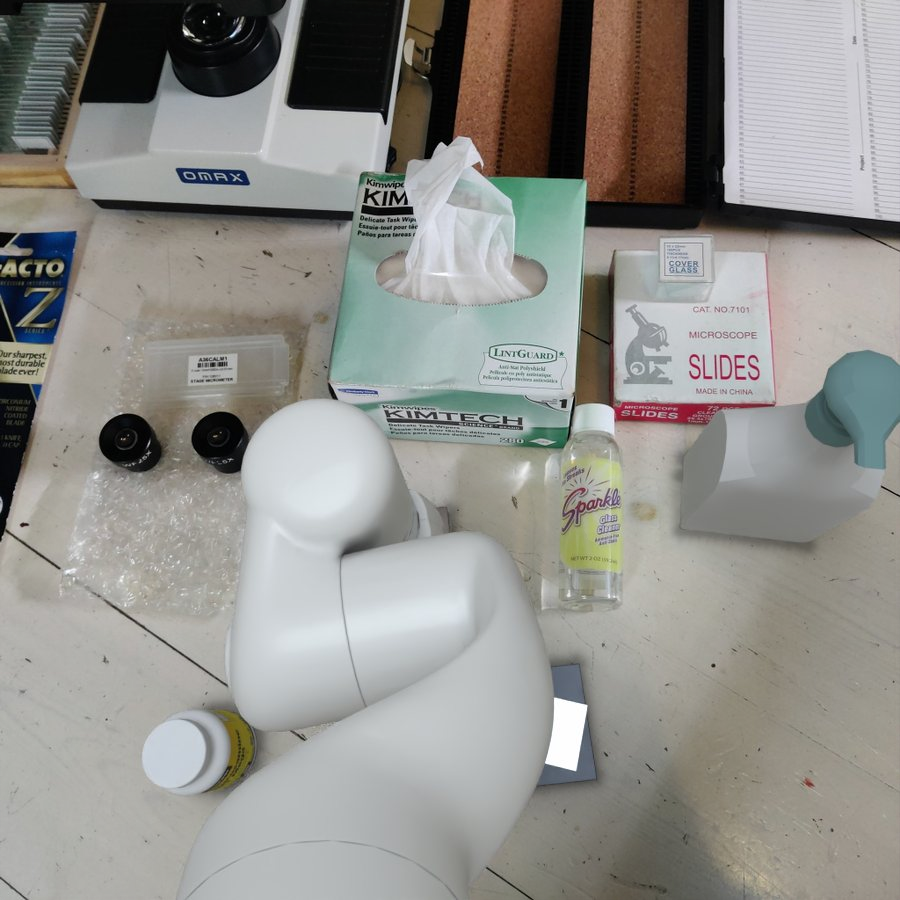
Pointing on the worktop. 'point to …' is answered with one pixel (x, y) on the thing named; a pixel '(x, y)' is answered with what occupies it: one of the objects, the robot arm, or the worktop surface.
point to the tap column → (571, 688)
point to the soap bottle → (795, 457)
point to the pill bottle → (199, 751)
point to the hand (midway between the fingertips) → (391, 571)
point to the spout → (567, 734)
